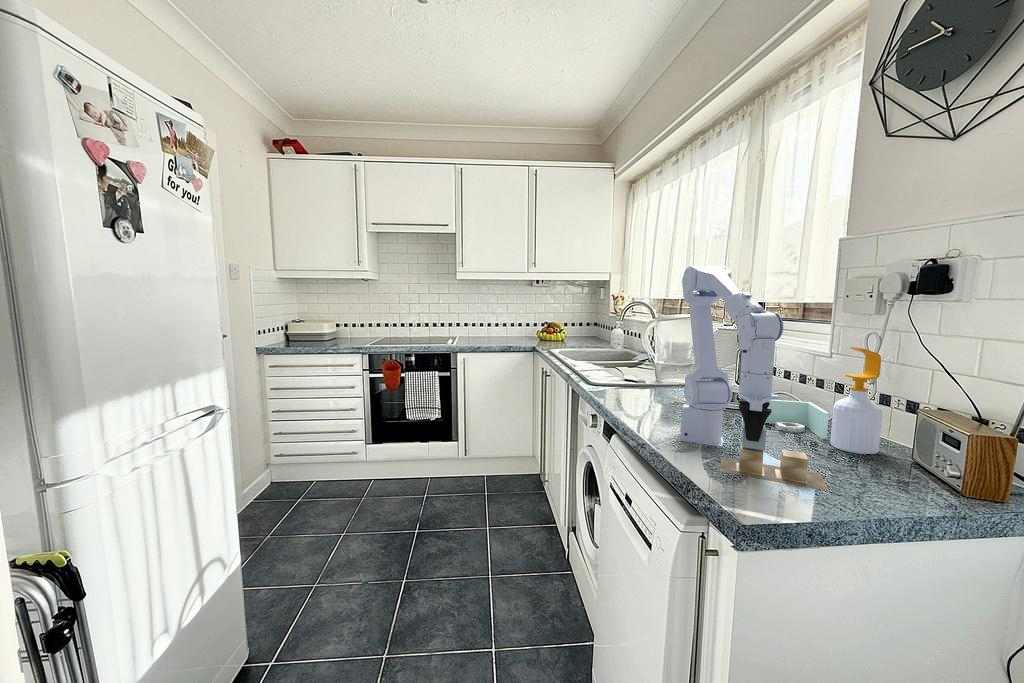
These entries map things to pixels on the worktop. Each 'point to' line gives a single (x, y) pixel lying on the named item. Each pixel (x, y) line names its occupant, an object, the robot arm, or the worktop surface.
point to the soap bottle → (858, 413)
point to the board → (773, 474)
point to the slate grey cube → (753, 444)
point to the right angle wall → (798, 417)
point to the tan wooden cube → (794, 465)
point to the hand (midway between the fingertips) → (752, 437)
